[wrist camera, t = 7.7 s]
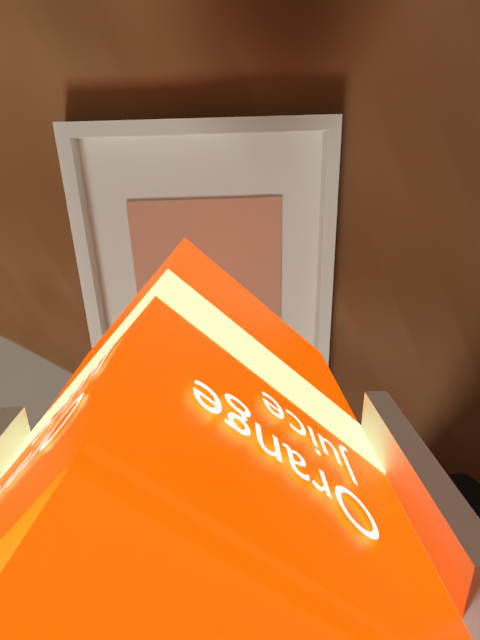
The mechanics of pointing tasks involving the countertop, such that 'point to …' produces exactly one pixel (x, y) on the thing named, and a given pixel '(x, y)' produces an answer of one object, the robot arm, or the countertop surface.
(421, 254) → the countertop surface
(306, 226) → the tray
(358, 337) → the countertop surface
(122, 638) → the orange juice
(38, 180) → the countertop surface
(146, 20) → the countertop surface
